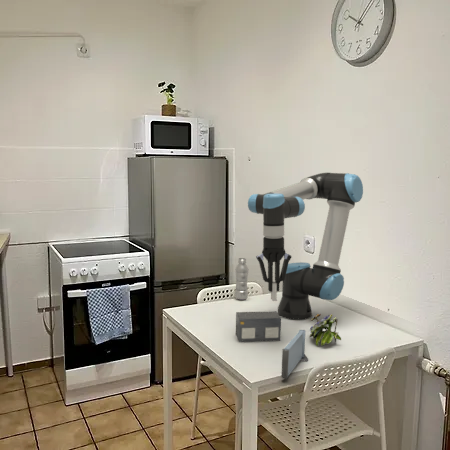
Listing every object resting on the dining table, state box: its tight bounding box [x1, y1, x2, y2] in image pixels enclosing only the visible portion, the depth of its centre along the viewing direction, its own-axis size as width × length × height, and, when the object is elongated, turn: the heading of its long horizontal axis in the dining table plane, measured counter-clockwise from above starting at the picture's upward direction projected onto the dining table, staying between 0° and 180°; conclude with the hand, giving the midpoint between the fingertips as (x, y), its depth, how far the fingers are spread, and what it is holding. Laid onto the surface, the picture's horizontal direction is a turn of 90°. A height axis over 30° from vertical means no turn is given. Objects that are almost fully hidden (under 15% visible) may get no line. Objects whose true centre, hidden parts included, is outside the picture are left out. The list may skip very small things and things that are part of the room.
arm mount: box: [298, 353, 309, 363], centre depth 171 cm, size 4×4×1 cm
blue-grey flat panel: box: [281, 329, 307, 379], centre depth 162 cm, size 21×2×9 cm, turn 155°
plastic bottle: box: [234, 257, 249, 301], centre depth 238 cm, size 6×7×20 cm
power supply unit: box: [235, 310, 282, 343], centre depth 189 cm, size 16×9×9 cm, turn 98°
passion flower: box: [308, 313, 342, 347], centre depth 187 cm, size 13×12×14 cm
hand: (273, 299), depth 181 cm, fingers closed
